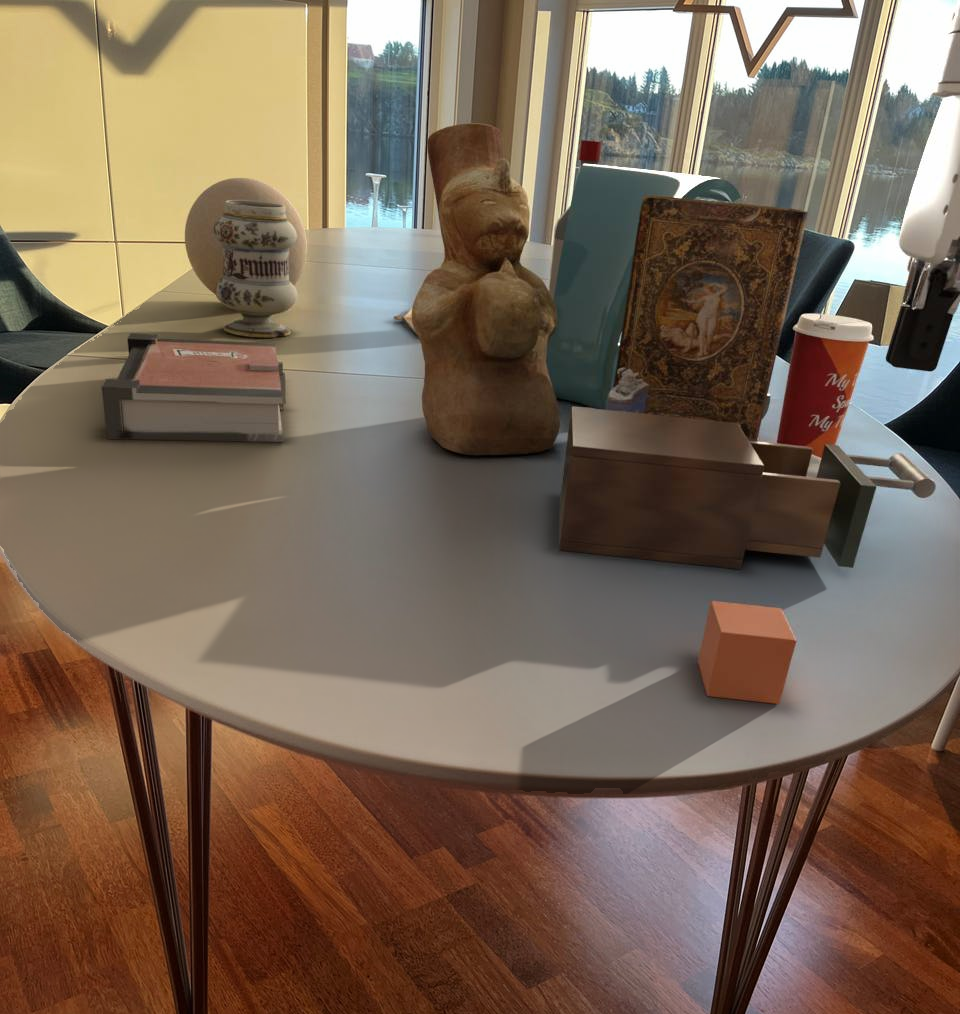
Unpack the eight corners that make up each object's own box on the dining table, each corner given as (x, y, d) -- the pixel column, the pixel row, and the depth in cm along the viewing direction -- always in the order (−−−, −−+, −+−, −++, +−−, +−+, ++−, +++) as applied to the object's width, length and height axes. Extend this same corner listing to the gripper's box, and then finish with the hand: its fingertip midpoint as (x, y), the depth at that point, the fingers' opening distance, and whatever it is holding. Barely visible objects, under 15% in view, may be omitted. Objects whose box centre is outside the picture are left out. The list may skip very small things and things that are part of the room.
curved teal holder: (574, 370, 137) (590, 157, 123) (772, 391, 130) (813, 168, 116) (526, 422, 115) (539, 171, 101) (760, 451, 108) (809, 186, 94)
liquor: (545, 325, 171) (566, 138, 157) (544, 316, 179) (563, 138, 165) (595, 329, 171) (620, 143, 157) (592, 321, 179) (615, 143, 165)
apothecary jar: (260, 343, 137) (257, 207, 128) (199, 329, 141) (192, 198, 133) (313, 333, 146) (313, 206, 138) (254, 321, 151) (251, 198, 143)
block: (765, 668, 61) (781, 607, 59) (779, 704, 57) (797, 640, 55) (697, 661, 61) (710, 600, 59) (706, 696, 57) (721, 632, 55)
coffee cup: (825, 474, 101) (863, 329, 94) (753, 455, 105) (784, 316, 98) (850, 459, 107) (887, 322, 100) (781, 442, 111) (812, 310, 104)
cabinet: (718, 515, 86) (737, 422, 82) (740, 569, 75) (764, 465, 71) (559, 498, 87) (571, 405, 83) (558, 550, 76) (572, 445, 72)
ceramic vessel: (440, 464, 93) (462, 118, 79) (377, 407, 110) (385, 115, 96) (581, 458, 99) (625, 134, 85) (500, 404, 116) (525, 129, 102)
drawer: (878, 524, 85) (901, 446, 82) (920, 575, 75) (948, 488, 71) (669, 503, 86) (684, 424, 82) (683, 550, 75) (701, 463, 72)
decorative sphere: (325, 315, 161) (326, 186, 152) (210, 317, 151) (203, 179, 142) (282, 295, 176) (280, 176, 166) (174, 296, 166) (165, 169, 156)
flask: (615, 494, 89) (633, 380, 84) (586, 488, 90) (601, 375, 85) (637, 469, 97) (654, 363, 92) (610, 464, 98) (625, 359, 93)
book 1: (290, 442, 95) (289, 392, 93) (107, 438, 91) (101, 387, 89) (281, 380, 118) (280, 339, 115) (134, 375, 114) (130, 333, 112)
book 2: (750, 449, 107) (803, 209, 96) (755, 463, 102) (812, 212, 91) (606, 432, 109) (641, 193, 97) (605, 445, 104) (642, 196, 92)
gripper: (1118, 72, 53) (1000, 397, 62) (1015, 87, 66) (930, 354, 75) (982, 57, 53) (884, 383, 62) (906, 76, 67) (834, 342, 75)
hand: (909, 366), depth 68 cm, fingers closed
